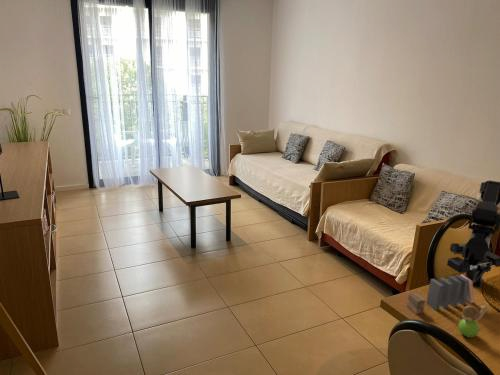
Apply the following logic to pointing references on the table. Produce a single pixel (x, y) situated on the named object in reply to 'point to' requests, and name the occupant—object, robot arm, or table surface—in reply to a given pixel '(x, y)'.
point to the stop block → (416, 303)
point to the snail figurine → (471, 320)
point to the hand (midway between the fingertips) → (470, 283)
